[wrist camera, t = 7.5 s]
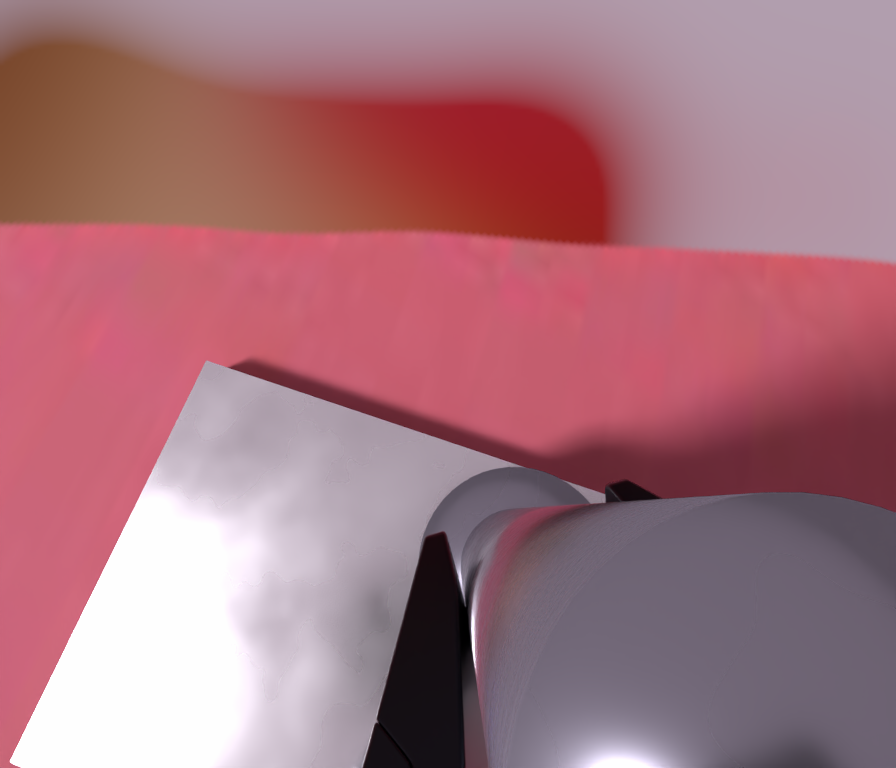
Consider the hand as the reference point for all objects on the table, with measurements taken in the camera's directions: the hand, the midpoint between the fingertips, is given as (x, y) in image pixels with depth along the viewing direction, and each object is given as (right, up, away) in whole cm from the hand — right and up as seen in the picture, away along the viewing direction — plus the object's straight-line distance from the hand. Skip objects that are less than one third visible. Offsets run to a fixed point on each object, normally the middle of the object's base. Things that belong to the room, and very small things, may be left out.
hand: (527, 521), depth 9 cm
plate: (-5, -6, +8) cm, 11 cm away
